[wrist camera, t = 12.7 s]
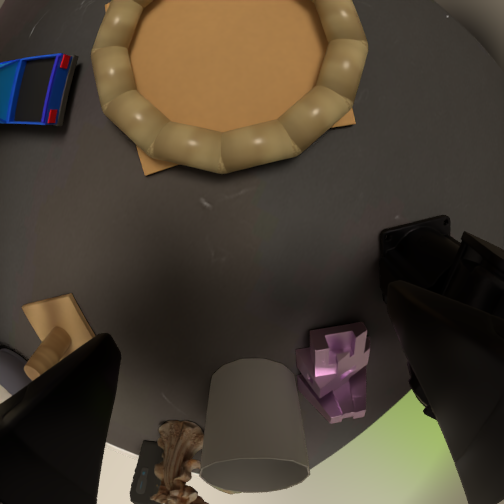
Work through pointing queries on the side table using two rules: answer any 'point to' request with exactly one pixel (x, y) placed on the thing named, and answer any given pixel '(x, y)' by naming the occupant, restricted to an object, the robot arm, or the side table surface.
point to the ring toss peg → (55, 331)
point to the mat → (226, 61)
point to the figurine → (178, 462)
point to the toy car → (36, 89)
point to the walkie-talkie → (146, 474)
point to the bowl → (11, 374)
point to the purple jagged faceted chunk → (335, 371)
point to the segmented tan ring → (242, 139)
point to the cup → (254, 429)
